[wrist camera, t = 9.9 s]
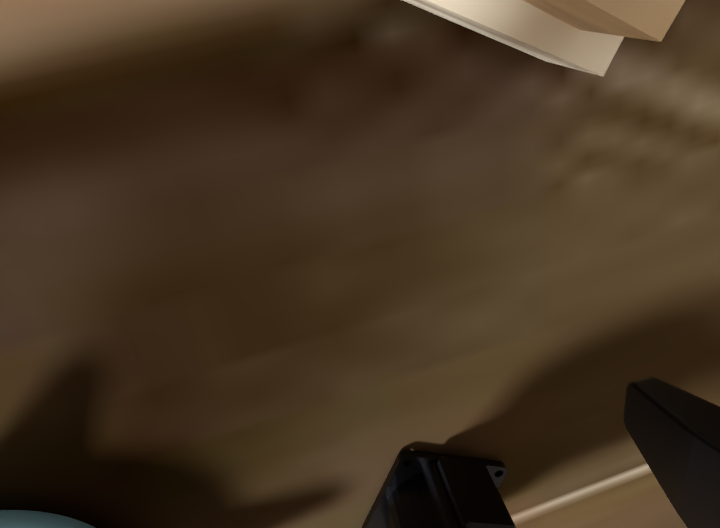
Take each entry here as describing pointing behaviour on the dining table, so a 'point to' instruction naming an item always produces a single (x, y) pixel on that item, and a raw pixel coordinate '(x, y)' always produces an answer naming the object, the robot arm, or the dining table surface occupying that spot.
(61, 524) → the teapot
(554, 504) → the dining table surface
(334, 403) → the dining table surface
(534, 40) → the birch base block
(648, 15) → the oak top block
